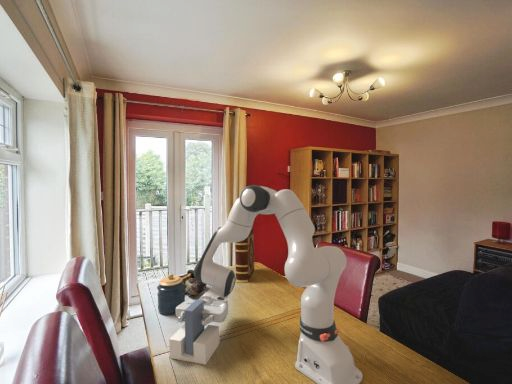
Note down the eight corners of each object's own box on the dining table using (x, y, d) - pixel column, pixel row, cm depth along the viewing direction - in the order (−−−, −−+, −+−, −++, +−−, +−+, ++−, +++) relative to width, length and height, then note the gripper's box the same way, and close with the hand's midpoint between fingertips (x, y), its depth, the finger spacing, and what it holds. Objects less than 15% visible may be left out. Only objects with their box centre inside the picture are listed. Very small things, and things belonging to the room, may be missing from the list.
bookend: (190, 269, 165) (217, 273, 150) (191, 287, 165) (219, 293, 149) (168, 275, 154) (196, 280, 138) (170, 294, 154) (198, 302, 138)
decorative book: (247, 283, 164) (246, 234, 162) (234, 282, 165) (233, 234, 164) (254, 270, 186) (253, 227, 184) (243, 270, 187) (242, 227, 186)
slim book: (204, 340, 104) (203, 300, 103) (193, 355, 96) (191, 311, 95) (197, 339, 105) (196, 299, 104) (185, 353, 96) (184, 310, 96)
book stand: (219, 343, 104) (219, 326, 104) (205, 364, 93) (205, 344, 92) (187, 338, 108) (186, 321, 108) (170, 358, 97) (169, 339, 96)
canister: (157, 305, 137) (156, 271, 136) (184, 301, 142) (182, 268, 141) (158, 317, 125) (156, 280, 124) (186, 312, 130) (185, 276, 129)
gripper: (185, 294, 113) (166, 310, 100) (231, 299, 108) (217, 316, 95) (186, 309, 114) (167, 326, 100) (231, 314, 108) (217, 334, 95)
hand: (191, 322), depth 97 cm, fingers open, 8 cm apart
